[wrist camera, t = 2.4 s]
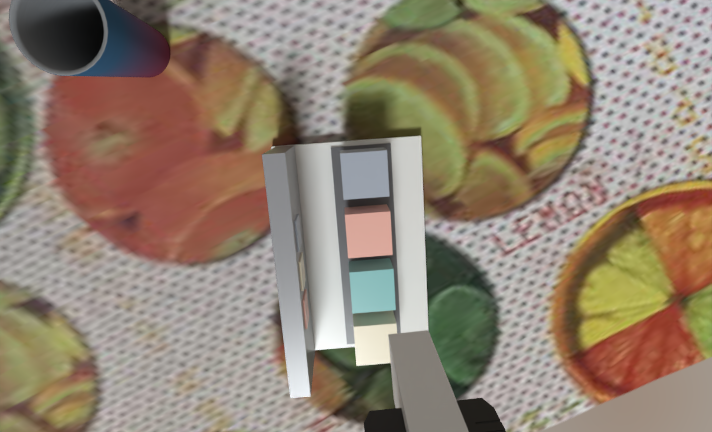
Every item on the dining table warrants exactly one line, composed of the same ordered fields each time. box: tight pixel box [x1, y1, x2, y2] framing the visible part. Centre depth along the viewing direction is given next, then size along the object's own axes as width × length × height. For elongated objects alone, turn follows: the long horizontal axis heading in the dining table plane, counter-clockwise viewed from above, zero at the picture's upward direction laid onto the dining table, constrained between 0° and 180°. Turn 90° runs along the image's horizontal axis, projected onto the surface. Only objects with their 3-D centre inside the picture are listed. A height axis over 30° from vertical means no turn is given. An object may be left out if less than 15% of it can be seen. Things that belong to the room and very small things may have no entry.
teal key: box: [349, 258, 396, 314], centre depth 49 cm, size 4×4×4 cm
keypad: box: [262, 135, 428, 398], centre depth 48 cm, size 16×24×10 cm, turn 4°
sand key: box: [353, 310, 397, 366], centre depth 50 cm, size 4×4×4 cm
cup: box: [9, 0, 170, 77], centre depth 40 cm, size 7×7×15 cm
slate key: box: [340, 147, 390, 200], centre depth 46 cm, size 4×4×4 cm
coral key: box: [344, 204, 393, 258], centre depth 47 cm, size 4×4×4 cm
